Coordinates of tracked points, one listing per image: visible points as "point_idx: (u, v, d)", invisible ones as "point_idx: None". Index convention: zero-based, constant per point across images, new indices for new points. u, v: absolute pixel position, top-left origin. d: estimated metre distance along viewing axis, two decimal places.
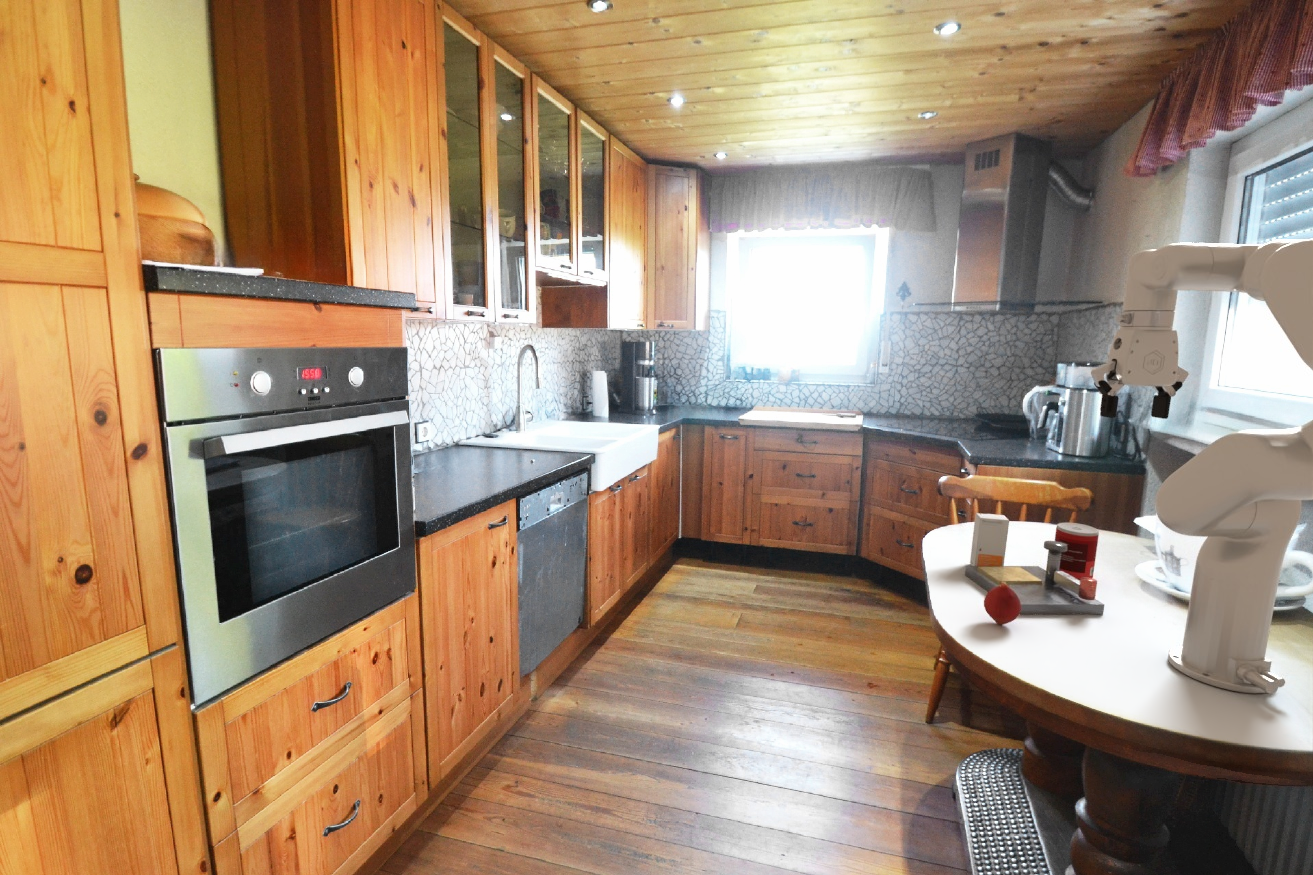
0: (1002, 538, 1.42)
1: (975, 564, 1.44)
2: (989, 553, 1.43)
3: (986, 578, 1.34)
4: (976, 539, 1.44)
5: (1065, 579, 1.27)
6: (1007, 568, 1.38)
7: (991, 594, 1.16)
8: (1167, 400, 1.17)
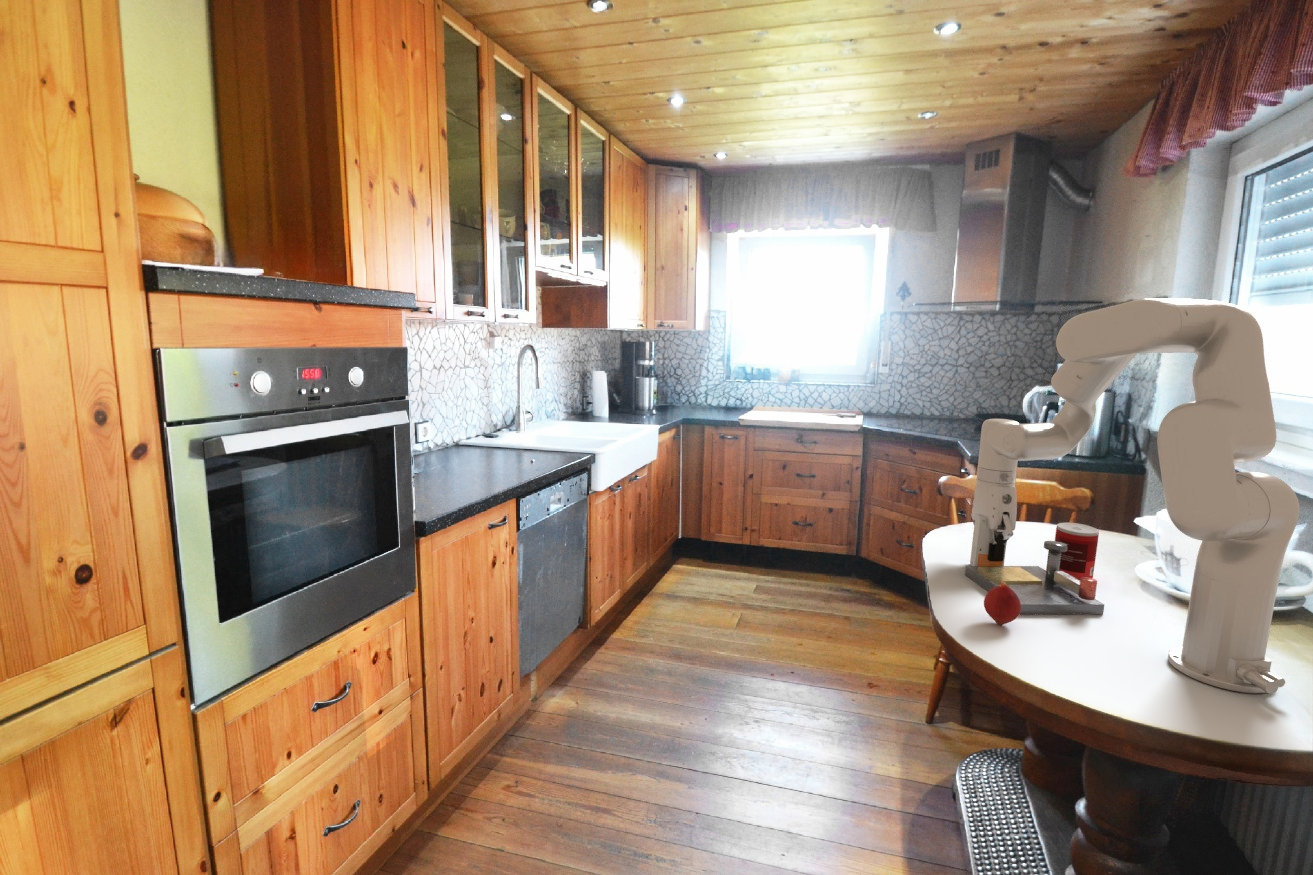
0: None
1: (975, 564, 1.44)
2: None
3: (986, 578, 1.34)
4: (976, 539, 1.44)
5: (1065, 579, 1.27)
6: (1007, 568, 1.38)
7: (991, 594, 1.16)
8: None
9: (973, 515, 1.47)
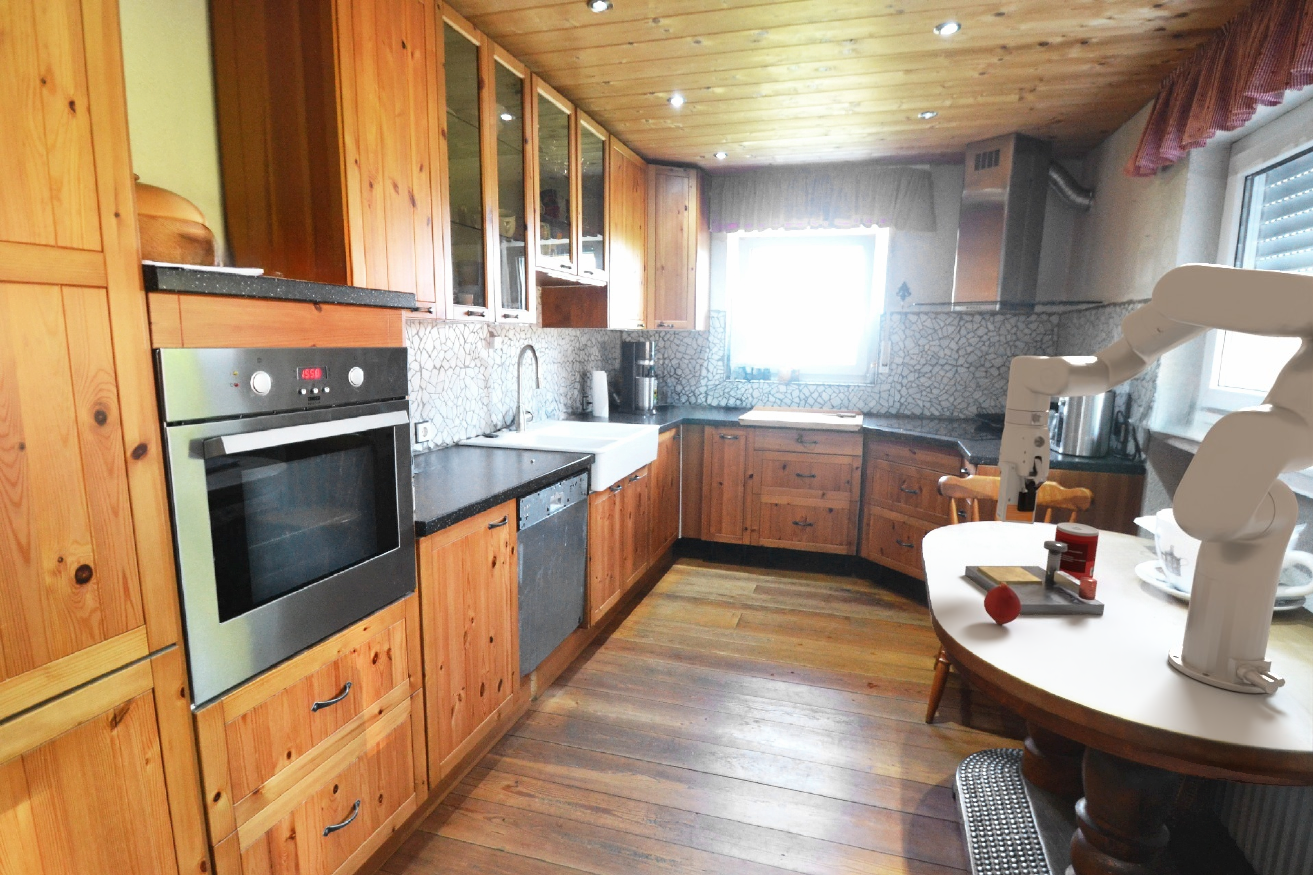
0: None
1: (1003, 516, 1.32)
2: None
3: (986, 578, 1.34)
4: (1004, 488, 1.31)
5: (1065, 579, 1.27)
6: (1007, 568, 1.38)
7: (991, 594, 1.16)
8: None
9: (1000, 463, 1.35)
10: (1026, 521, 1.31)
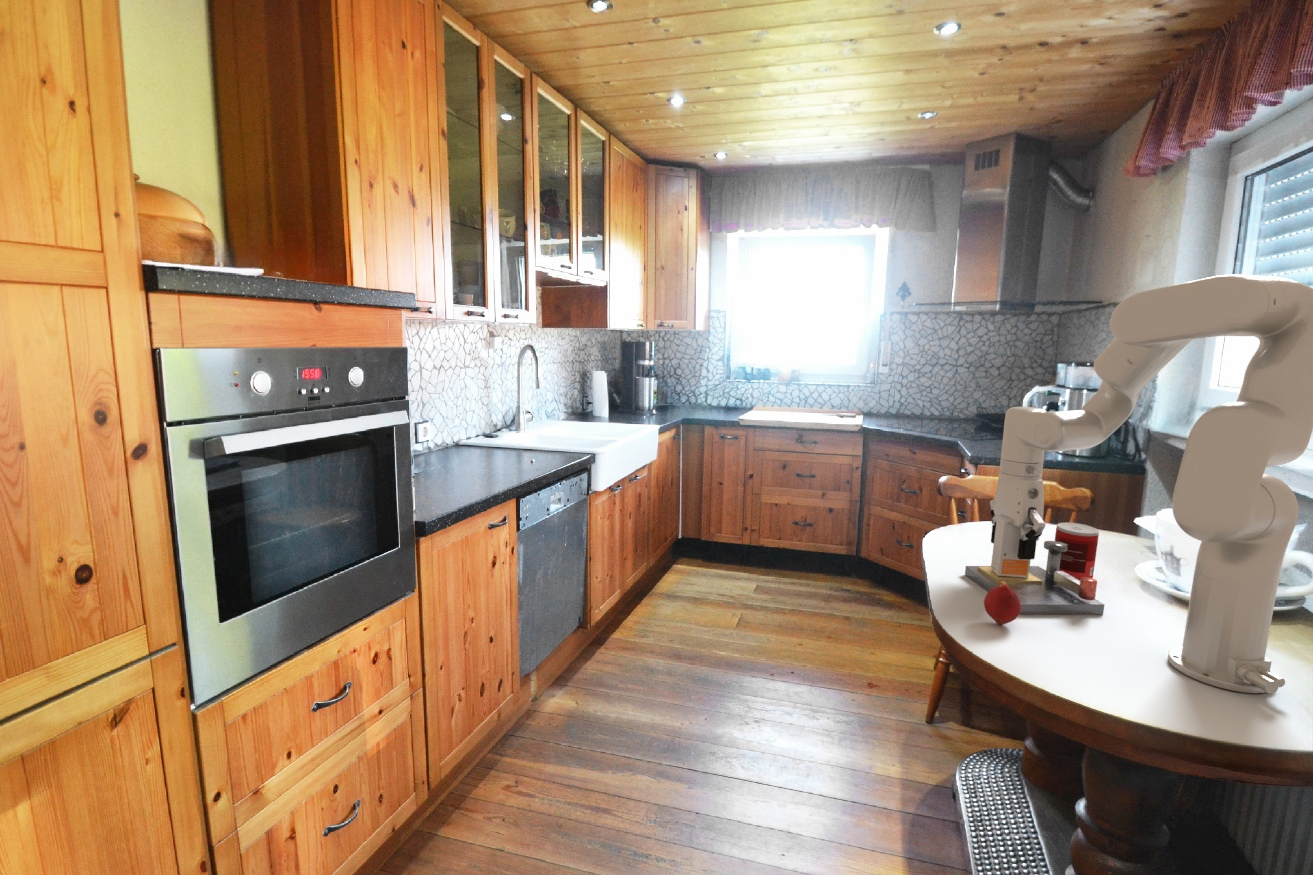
0: None
1: (999, 570, 1.33)
2: (1014, 558, 1.32)
3: (986, 578, 1.34)
4: (1000, 543, 1.33)
5: (1065, 579, 1.27)
6: None
7: (991, 594, 1.16)
8: None
9: (995, 511, 1.37)
10: (1021, 575, 1.33)
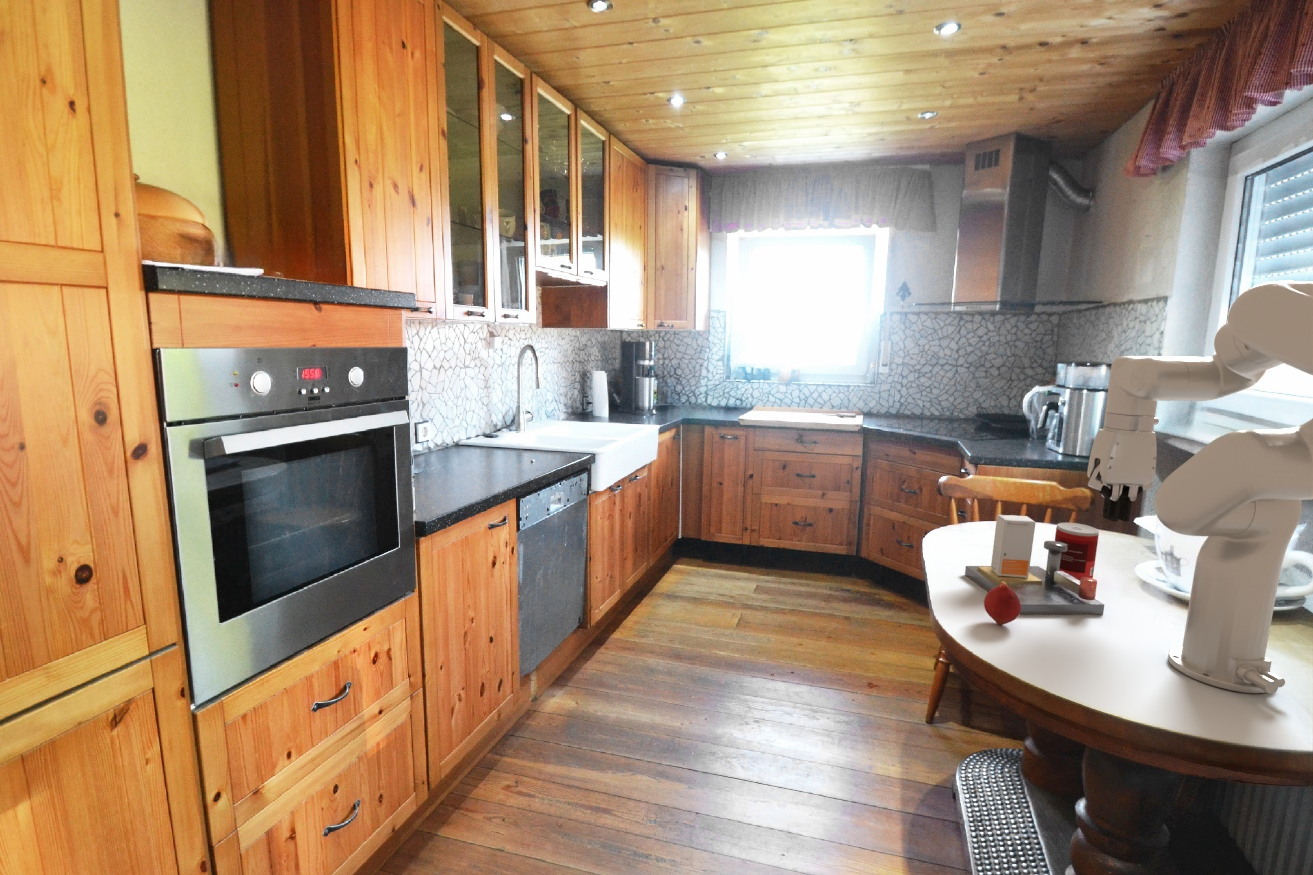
0: (1028, 541, 1.31)
1: (999, 570, 1.33)
2: (1014, 558, 1.32)
3: (986, 578, 1.34)
4: (1000, 543, 1.33)
5: (1065, 579, 1.27)
6: None
7: (991, 594, 1.16)
8: None
9: (1110, 478, 1.20)
10: (1021, 575, 1.33)
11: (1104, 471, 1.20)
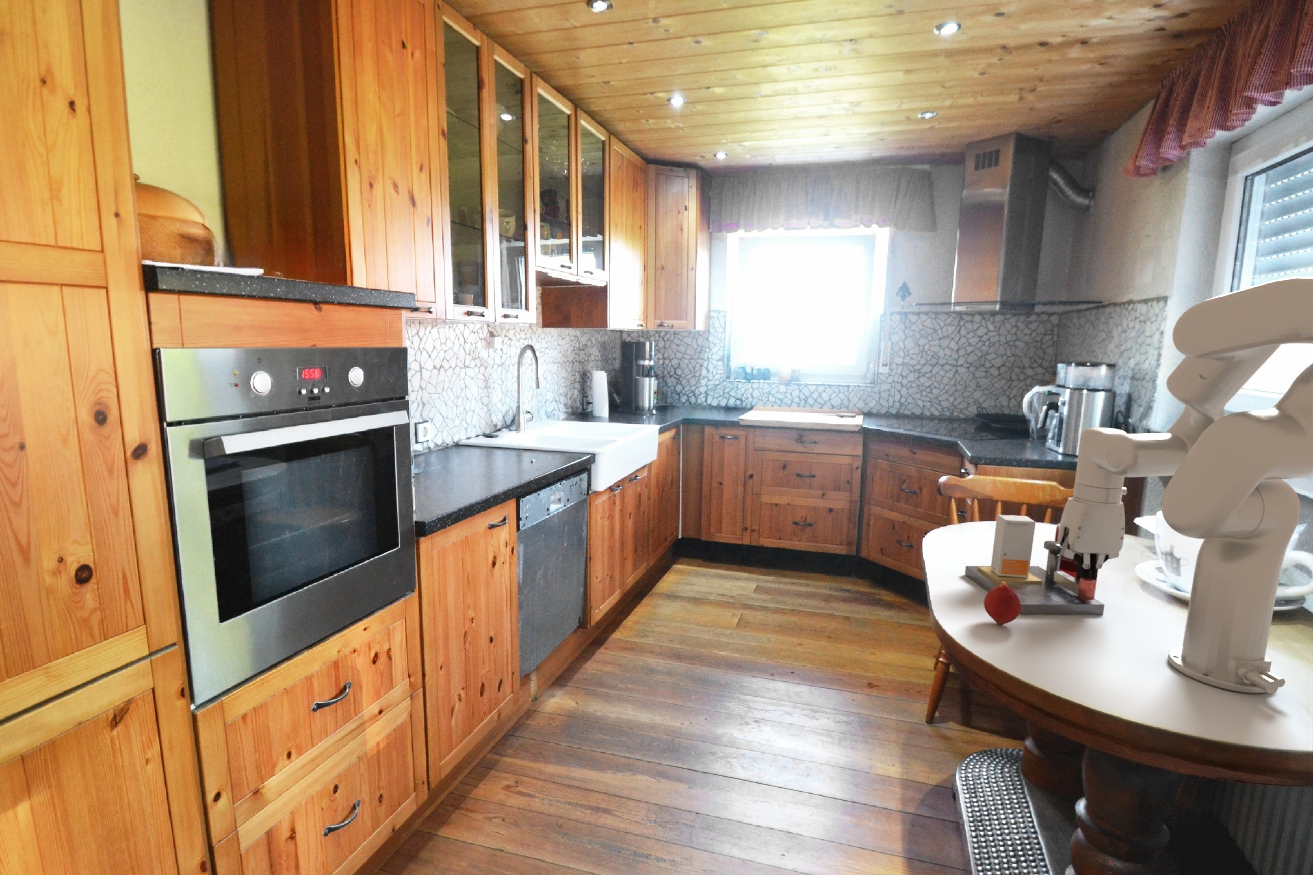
0: (1028, 541, 1.31)
1: (999, 570, 1.33)
2: (1014, 557, 1.32)
3: (986, 578, 1.34)
4: (1000, 543, 1.33)
5: (1065, 579, 1.27)
6: None
7: (991, 594, 1.16)
8: None
9: (1078, 547, 1.22)
10: (1021, 575, 1.33)
11: (1073, 541, 1.22)
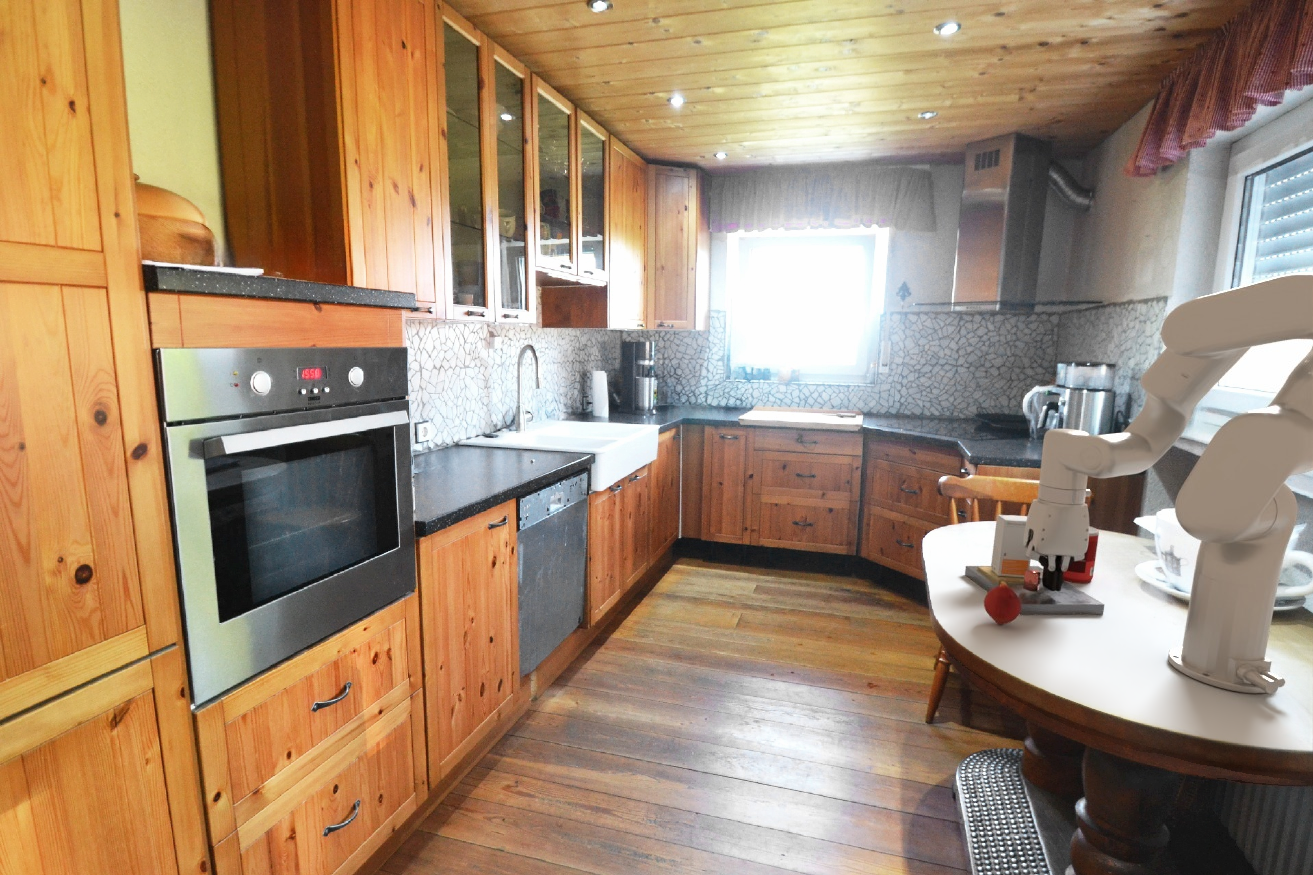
0: None
1: (999, 570, 1.33)
2: (1014, 557, 1.32)
3: (986, 578, 1.34)
4: (1000, 543, 1.33)
5: None
6: None
7: (991, 594, 1.16)
8: None
9: (1043, 549, 1.22)
10: (1021, 575, 1.33)
11: (1037, 542, 1.22)
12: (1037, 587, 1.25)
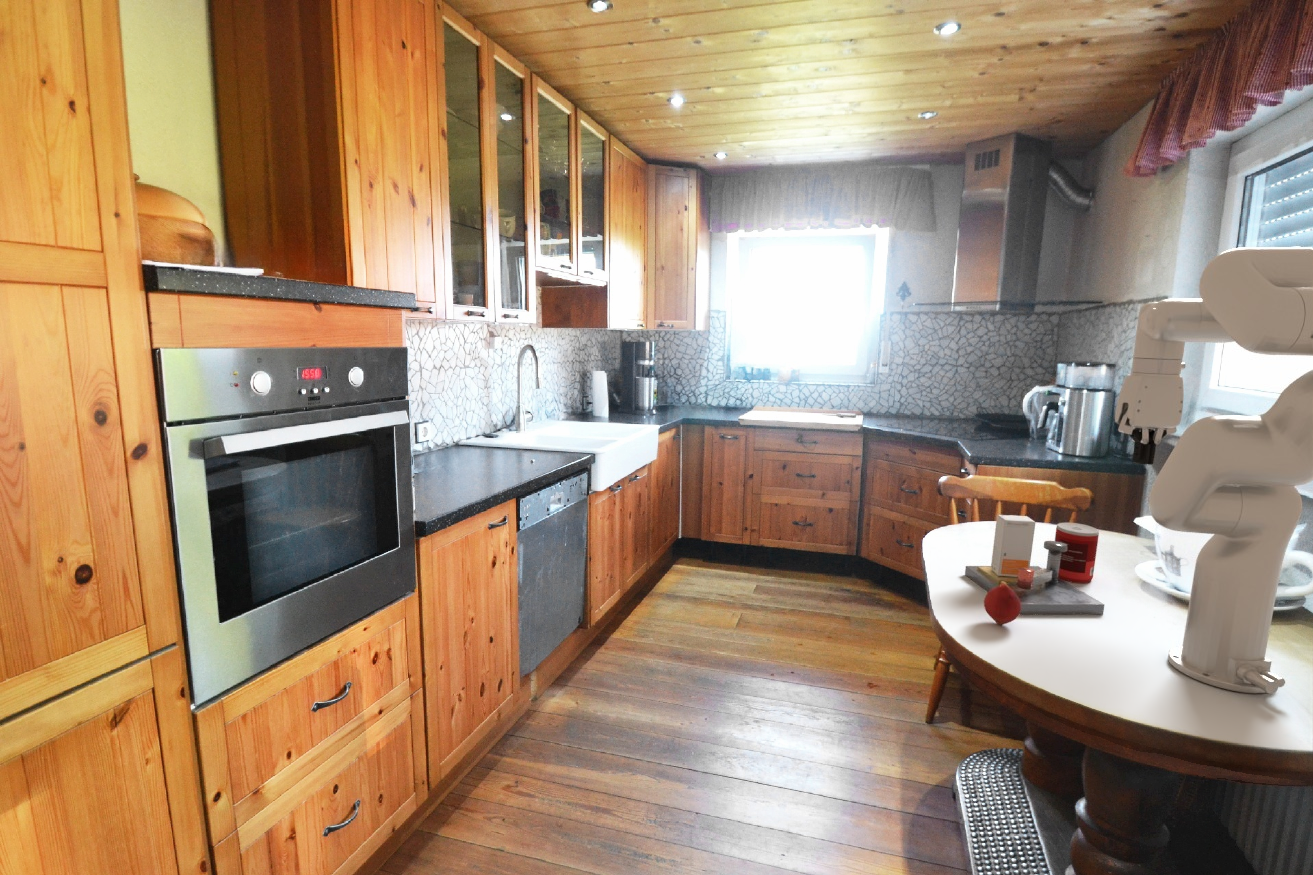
0: (1028, 541, 1.31)
1: (999, 570, 1.33)
2: (1014, 558, 1.32)
3: (986, 578, 1.34)
4: (1000, 543, 1.33)
5: None
6: None
7: (991, 594, 1.16)
8: None
9: (1138, 421, 1.24)
10: None
11: (1132, 414, 1.24)
12: (1030, 585, 1.26)
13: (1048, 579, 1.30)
